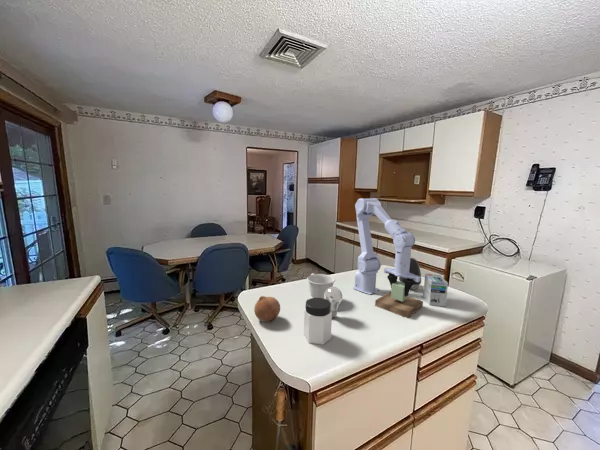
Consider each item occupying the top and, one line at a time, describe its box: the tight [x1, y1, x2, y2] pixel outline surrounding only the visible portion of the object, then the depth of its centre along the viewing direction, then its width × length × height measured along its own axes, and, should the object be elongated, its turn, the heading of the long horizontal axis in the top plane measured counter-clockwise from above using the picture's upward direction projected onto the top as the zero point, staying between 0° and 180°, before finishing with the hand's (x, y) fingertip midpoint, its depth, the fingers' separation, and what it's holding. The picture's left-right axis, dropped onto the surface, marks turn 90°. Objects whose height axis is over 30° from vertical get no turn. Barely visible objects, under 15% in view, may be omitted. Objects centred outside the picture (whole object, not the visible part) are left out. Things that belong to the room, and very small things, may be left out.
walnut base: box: [374, 291, 424, 319], centre depth 109 cm, size 14×14×2 cm
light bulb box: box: [423, 273, 449, 308], centre depth 115 cm, size 11×7×11 cm, turn 168°
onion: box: [253, 295, 281, 323], centre depth 96 cm, size 10×9×10 cm
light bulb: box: [324, 286, 343, 319], centre depth 98 cm, size 7×7×12 cm
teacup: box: [306, 273, 336, 299], centre depth 114 cm, size 12×15×10 cm
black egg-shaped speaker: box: [398, 257, 422, 291], centre depth 129 cm, size 10×10×15 cm
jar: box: [303, 297, 333, 345], centre depth 85 cm, size 9×8×12 cm
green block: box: [390, 280, 409, 302], centre depth 108 cm, size 5×5×6 cm
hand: (399, 293), depth 109 cm, fingers closed on green block, 5 cm apart
